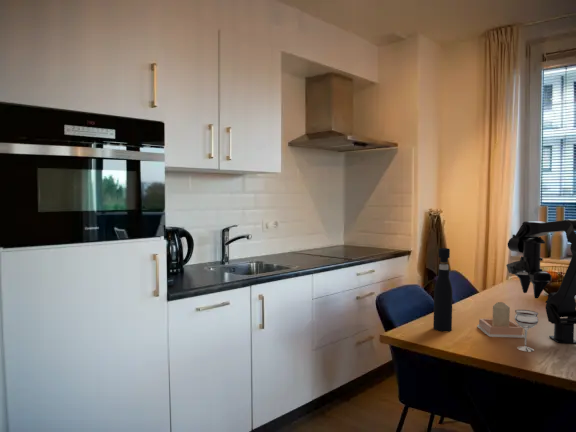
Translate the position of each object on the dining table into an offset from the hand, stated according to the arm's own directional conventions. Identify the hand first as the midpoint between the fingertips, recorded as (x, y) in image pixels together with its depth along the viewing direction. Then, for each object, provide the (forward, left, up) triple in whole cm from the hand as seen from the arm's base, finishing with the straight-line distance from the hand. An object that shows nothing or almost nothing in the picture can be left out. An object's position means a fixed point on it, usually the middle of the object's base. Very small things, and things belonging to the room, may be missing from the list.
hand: (530, 295), depth 168 cm
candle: (-8, +14, -11) cm, 20 cm away
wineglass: (-26, +13, -12) cm, 31 cm away
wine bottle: (-6, +34, -12) cm, 37 cm away
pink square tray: (-8, +14, -12) cm, 20 cm away
